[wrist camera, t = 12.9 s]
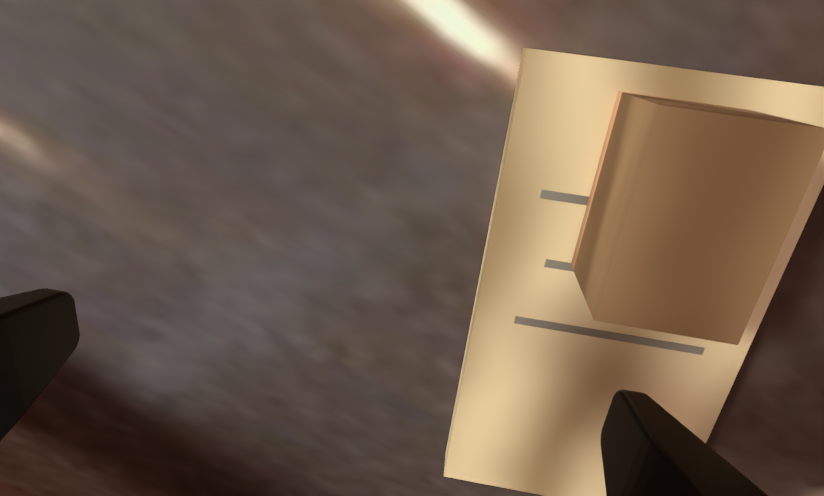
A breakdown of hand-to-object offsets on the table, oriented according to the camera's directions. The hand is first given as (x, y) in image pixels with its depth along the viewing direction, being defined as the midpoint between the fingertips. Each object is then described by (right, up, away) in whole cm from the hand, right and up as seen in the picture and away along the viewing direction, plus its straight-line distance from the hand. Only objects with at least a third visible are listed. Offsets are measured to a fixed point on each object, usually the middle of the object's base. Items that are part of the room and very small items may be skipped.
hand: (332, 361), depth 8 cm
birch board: (+9, 0, +12) cm, 15 cm away
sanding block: (+9, +4, +9) cm, 13 cm away
